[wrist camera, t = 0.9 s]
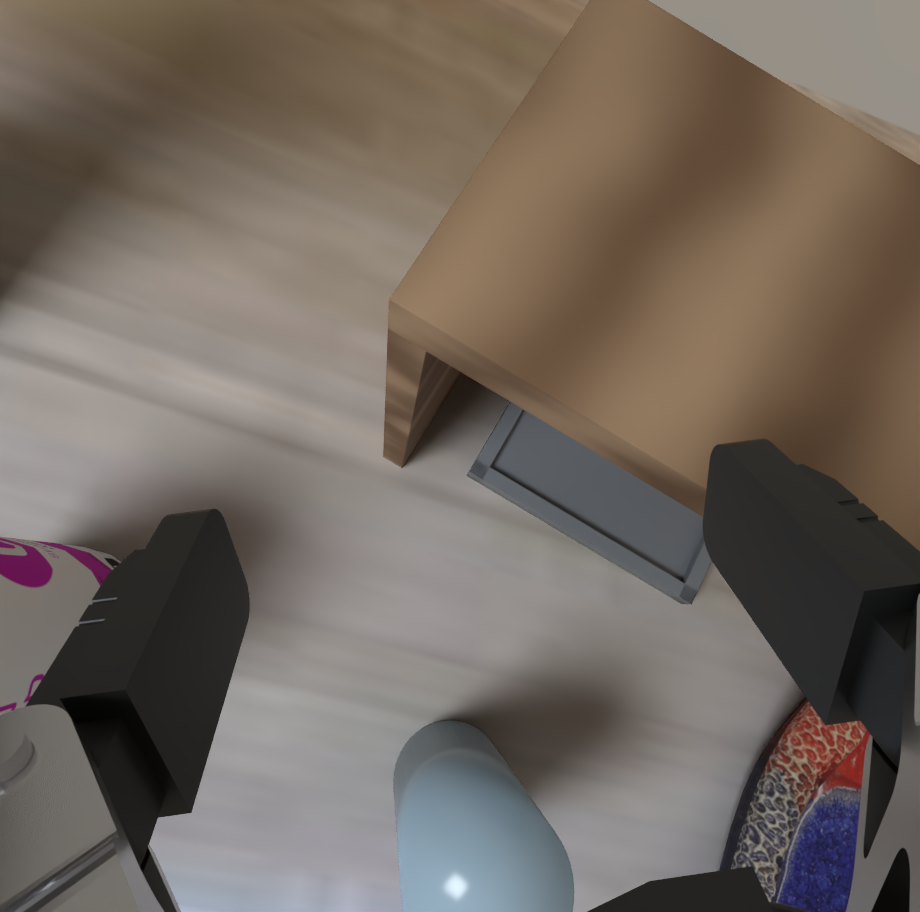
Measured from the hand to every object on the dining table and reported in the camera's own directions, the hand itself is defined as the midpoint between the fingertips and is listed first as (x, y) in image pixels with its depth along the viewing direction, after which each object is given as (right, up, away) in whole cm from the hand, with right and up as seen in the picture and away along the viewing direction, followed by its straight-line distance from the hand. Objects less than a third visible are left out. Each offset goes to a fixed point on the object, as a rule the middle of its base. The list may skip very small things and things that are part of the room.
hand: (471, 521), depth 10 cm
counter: (+8, +1, +26) cm, 27 cm away
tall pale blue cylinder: (-1, -15, +21) cm, 26 cm away
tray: (+8, 0, +26) cm, 27 cm away
